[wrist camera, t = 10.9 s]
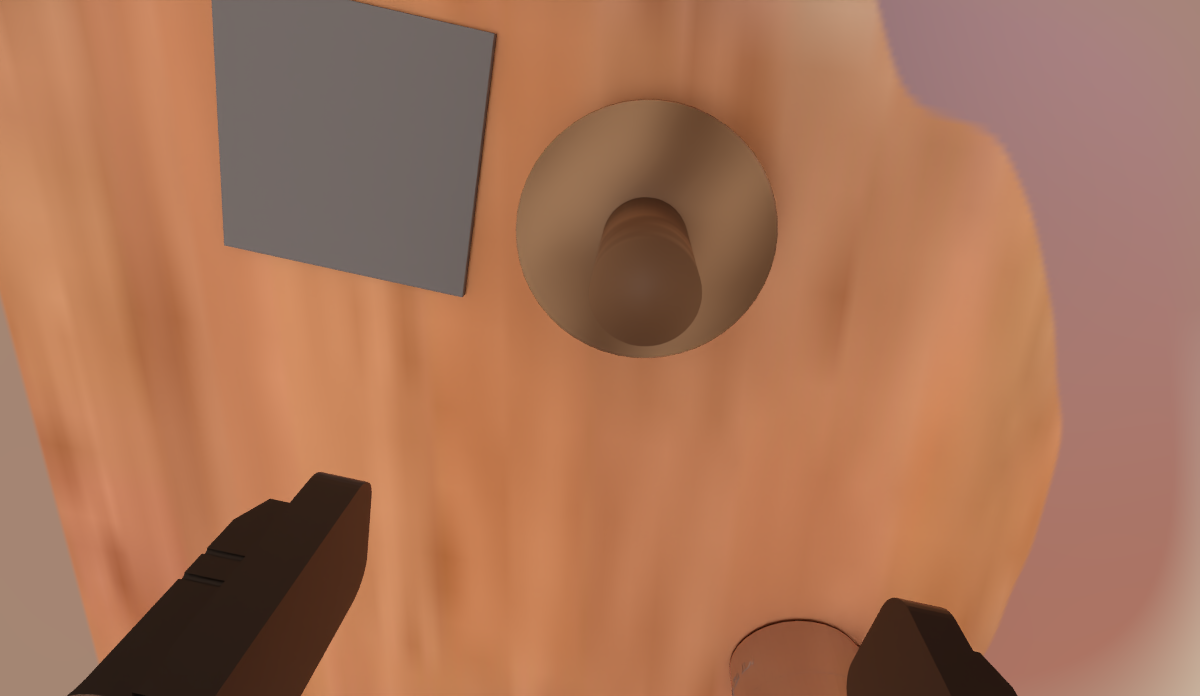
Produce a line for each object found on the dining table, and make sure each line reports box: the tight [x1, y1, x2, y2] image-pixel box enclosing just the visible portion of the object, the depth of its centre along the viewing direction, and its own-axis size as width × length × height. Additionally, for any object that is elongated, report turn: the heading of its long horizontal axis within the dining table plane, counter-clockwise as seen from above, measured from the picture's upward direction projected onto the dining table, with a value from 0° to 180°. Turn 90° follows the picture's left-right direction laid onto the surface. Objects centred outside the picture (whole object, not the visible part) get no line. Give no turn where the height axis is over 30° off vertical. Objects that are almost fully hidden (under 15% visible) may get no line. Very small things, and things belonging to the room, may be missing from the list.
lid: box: [516, 99, 777, 358], centre depth 23 cm, size 11×11×8 cm
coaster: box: [212, 0, 497, 297], centre depth 31 cm, size 13×13×1 cm
